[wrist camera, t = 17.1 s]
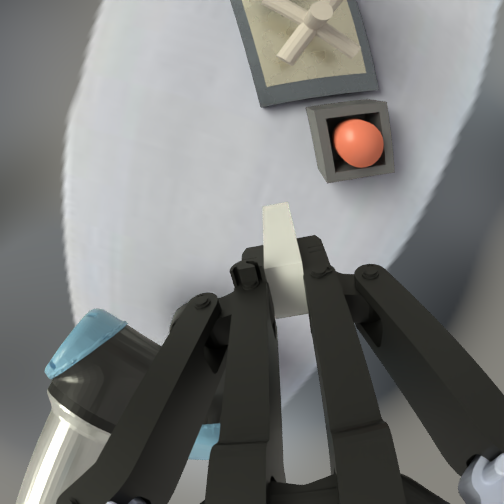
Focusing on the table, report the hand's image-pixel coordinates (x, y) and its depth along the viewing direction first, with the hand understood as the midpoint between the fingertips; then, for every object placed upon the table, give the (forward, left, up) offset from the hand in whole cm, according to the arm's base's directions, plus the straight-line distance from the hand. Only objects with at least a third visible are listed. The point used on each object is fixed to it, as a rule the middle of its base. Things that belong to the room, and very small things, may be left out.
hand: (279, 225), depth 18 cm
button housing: (+1, -9, -19) cm, 21 cm away
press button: (+1, -9, -15) cm, 18 cm away
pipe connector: (+14, -7, -18) cm, 24 cm away
